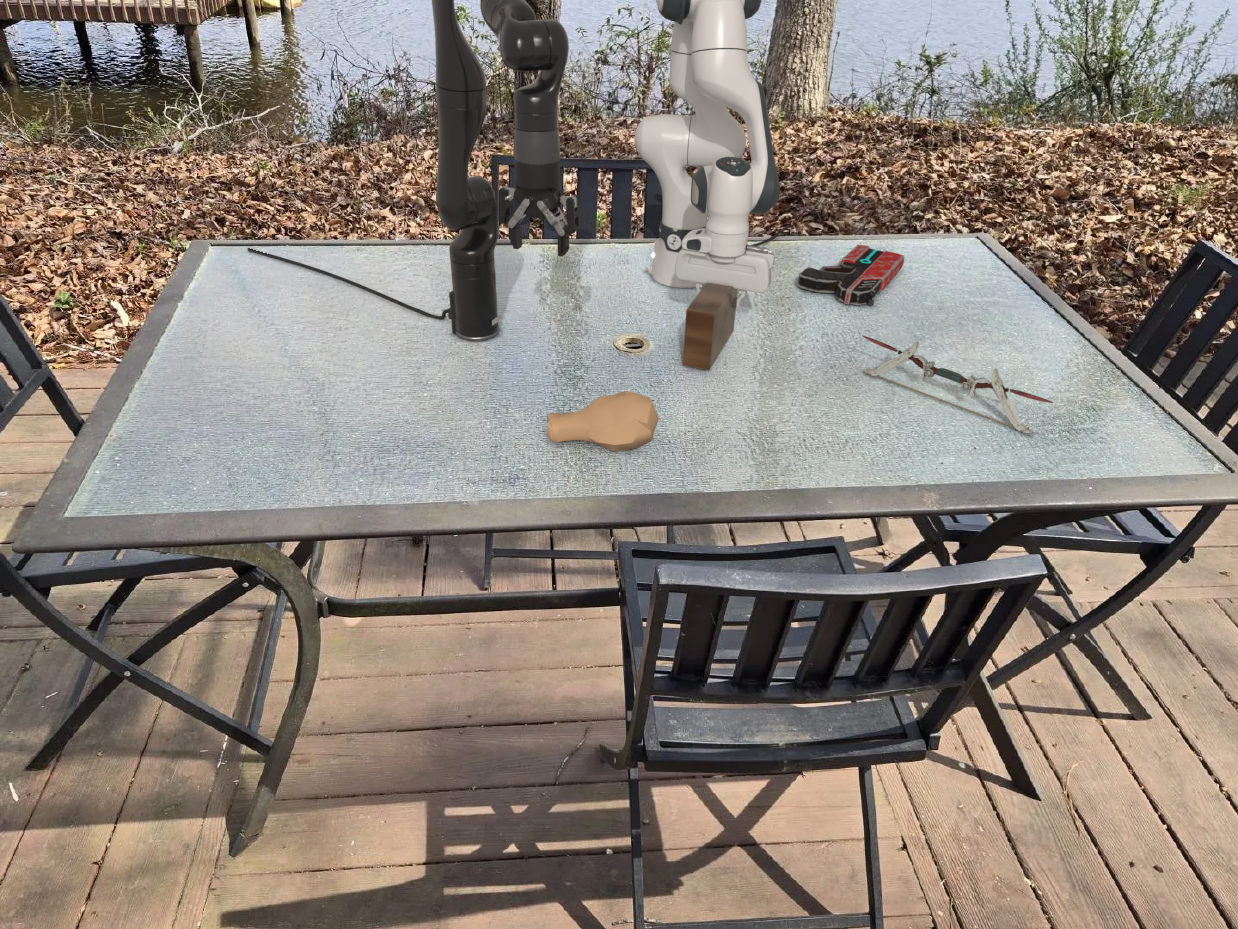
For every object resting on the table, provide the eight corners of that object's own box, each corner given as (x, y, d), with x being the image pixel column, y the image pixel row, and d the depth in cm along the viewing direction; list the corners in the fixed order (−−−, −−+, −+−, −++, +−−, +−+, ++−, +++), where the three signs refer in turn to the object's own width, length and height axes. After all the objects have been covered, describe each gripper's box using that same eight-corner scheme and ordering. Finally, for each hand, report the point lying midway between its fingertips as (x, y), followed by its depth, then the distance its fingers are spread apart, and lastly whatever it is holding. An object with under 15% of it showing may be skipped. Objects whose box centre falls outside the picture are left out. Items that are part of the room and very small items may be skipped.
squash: (661, 458, 153) (657, 419, 147) (548, 466, 154) (539, 428, 148) (659, 417, 161) (656, 379, 154) (552, 426, 162) (544, 388, 156)
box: (709, 370, 178) (714, 314, 171) (682, 365, 179) (686, 309, 172) (733, 330, 193) (739, 278, 186) (708, 326, 195) (713, 274, 188)
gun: (795, 274, 213) (872, 294, 206) (838, 237, 235) (909, 253, 227) (792, 292, 216) (868, 311, 208) (835, 253, 238) (905, 269, 230)
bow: (1043, 436, 162) (1060, 388, 156) (1039, 439, 161) (1056, 392, 155) (858, 367, 183) (866, 322, 177) (853, 369, 182) (862, 325, 176)
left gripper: (586, 155, 144) (585, 250, 153) (508, 145, 148) (512, 238, 157) (567, 166, 138) (568, 265, 147) (487, 156, 143) (493, 252, 152)
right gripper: (778, 244, 179) (770, 306, 187) (683, 230, 185) (679, 291, 193) (772, 254, 175) (764, 318, 182) (674, 239, 180) (670, 302, 188)
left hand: (539, 251), depth 152 cm, fingers open, 8 cm apart
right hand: (719, 304), depth 188 cm, fingers closed on box, 6 cm apart
